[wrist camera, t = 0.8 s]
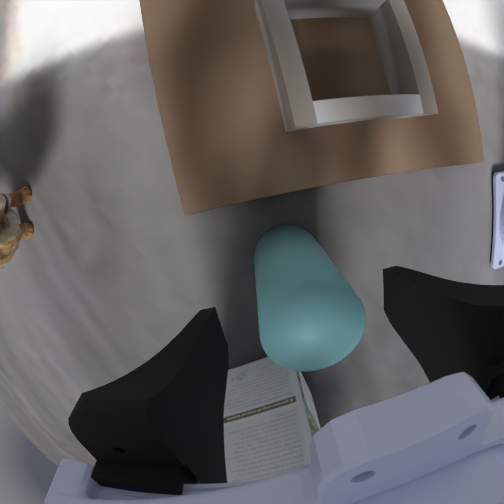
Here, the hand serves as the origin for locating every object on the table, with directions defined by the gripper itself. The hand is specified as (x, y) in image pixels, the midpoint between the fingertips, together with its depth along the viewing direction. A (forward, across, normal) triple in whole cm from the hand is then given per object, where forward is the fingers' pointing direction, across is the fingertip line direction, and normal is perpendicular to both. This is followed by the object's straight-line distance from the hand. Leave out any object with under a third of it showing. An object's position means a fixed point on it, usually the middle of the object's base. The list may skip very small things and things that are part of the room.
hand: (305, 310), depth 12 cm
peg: (+6, 0, 0) cm, 7 cm away
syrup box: (+7, +3, +10) cm, 12 cm away
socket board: (+6, -5, -11) cm, 14 cm away
